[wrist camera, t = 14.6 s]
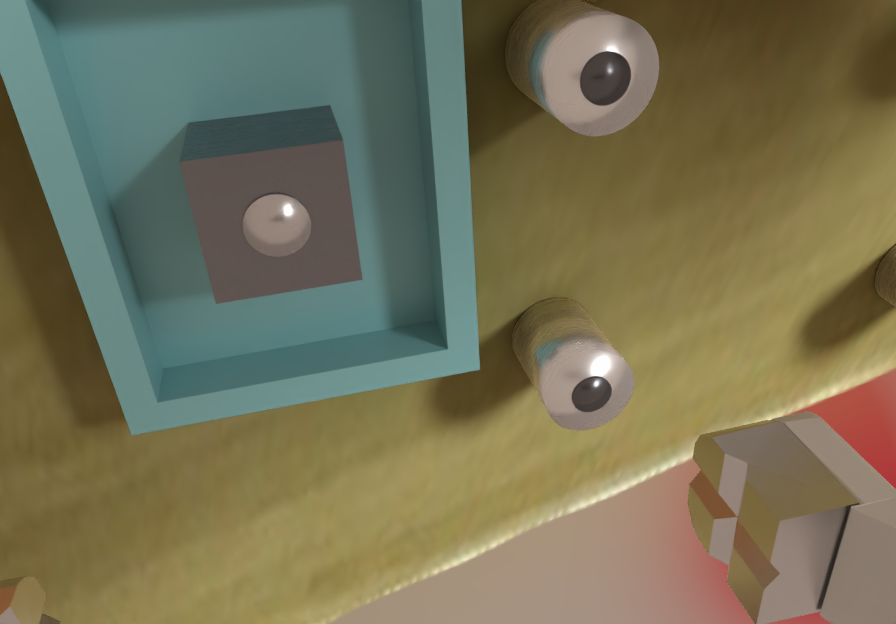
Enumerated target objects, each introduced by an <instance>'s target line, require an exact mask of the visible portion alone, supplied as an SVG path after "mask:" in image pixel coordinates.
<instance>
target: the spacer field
mask: <svg viewBox="0 0 896 624" xmlns="http://www.w3.org/2000/svg"><path fill="white" fill-rule="evenodd" d="M505 63H506V67H507V71H508V74H509V76H510V78H511V80H512V82H513V83H514V84H515V86H516V87H517V88H518V89H519V90H520V91H521V92H522V93H524V94H525V95H526V96H528V97H529V98H530V99H532V100H533V101H534V102H535V103H537V104H538V105H539V106H541V107H542V108H543V109H545V110H546V111H547V112H548V113H550V114H551V115H552V116H554V117H555V118H556V119H558V120H559V121H560V122H561V123H563V124H564V125H565V126H567V127H568V128H569V129H571V130H573V131H574V132H577V133H579V134H582V135H587V136H604V135H608V134H612V133H614V132H617V131H619V130H621V129H623V128H624V127H626V126H628V125H629V124H630V123H632V122H633V121H634V120H635V119H636V118H637V117H638V116H639V115H640V114H641V113H642V112H643V110H644V109H645V108H646V106H647V105H648V103H649V102H650V100H651V98H652V96H653V93H654V91H655V88H656V85H657V81H658V75H659V57H658V52H657V48H656V46H655V43H654V41H653V39H652V37H651V36H650V34H649V33H648V32H647V30H646V29H645V28H644V27H642V26H641V25H640V24H639V23H637V22H636V21H634V20H631V19H629V18H627V17H624V16H621V15H618V14H616V13H613V12H610V11H607V10H605V9H602V8H599V7H596V6H594V5H591V4H588V3H585V2H583V1H580V0H538V1H536V2H534V3H532V4H531V5H529V6H528V7H527V8H526V9H525V10H524V11H523V12H522V13H521V14H520V15H519V16H518V17H517V19H516V20H515V22H514V23H513V25H512V27H511V29H510V32H509V34H508V37H507V41H506V46H505ZM875 289H876V291H877V293H878V294H879V296H880V297H882V298H883V299H884V300H886V301H888V302H889V303H891V304H892V305H894V306H895V307H896V245H895V246H894V247H893V248H891V249H890V251H889V252H888V253H887V254H886V255H885V256H884V258H883V259H882V261H881V263H880V264H879V266H878V269H877V272H876V275H875ZM512 347H513V350H514V353H515V355H516V356H517V358H518V360H519V362H520V363H521V365H522V367H523V369H524V371H525V372H526V374H527V376H528V378H529V379H530V381H531V383H532V385H533V386H534V388H535V390H536V392H537V393H538V395H539V397H540V399H541V400H542V402H543V404H544V406H545V407H546V409H547V411H548V413H549V414H550V416H551V418H552V419H553V420H554V421H555V422H556V423H557V424H558V425H560V426H562V427H564V428H567V429H570V430H588V429H593V428H596V427H599V426H601V425H603V424H605V423H607V422H609V421H610V420H612V419H613V418H614V417H616V416H617V415H618V414H619V413H620V412H621V411H622V410H623V409H624V408H625V406H626V405H627V403H628V402H629V400H630V398H631V396H632V393H633V389H634V375H633V372H632V370H631V368H630V366H629V365H628V364H627V363H626V361H625V360H624V359H623V358H622V356H621V355H620V354H619V352H618V351H617V350H616V349H615V347H614V346H613V345H612V344H611V342H610V341H609V340H608V338H607V337H606V336H605V335H604V333H603V332H602V331H601V330H600V328H599V327H598V326H597V325H596V323H595V322H594V321H593V319H592V318H591V317H590V316H589V314H588V313H587V312H586V311H585V309H584V308H583V307H582V306H581V305H580V304H579V303H577V302H575V301H573V300H571V299H567V298H550V299H546V300H543V301H540V302H538V303H536V304H535V305H533V306H531V307H530V308H529V309H527V310H526V311H525V312H524V313H523V314H522V316H521V317H520V318H519V320H518V321H517V323H516V325H515V327H514V330H513V333H512Z"/></svg>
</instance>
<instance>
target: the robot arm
mask: <svg viewBox="0 0 896 624" xmlns="http://www.w3.org/2000/svg"><path fill="white" fill-rule="evenodd" d="M693 459H694V461H695V462H696V463H697V465H698V466H699V468H700V469H701V470H700V472H699V473H698V474H697V476H696V477H695V478H694V479H693V480H692V481H691V483H690V484H689V495H688V506H689V512H690V516H691V521H692V525H693V527H694V529H695V531H696V534H697V536H698V538H699V540H700V542H701V543H702V545H703V546H704V548H705V549H706V551H707V553H708V554H709V555H711V556H712V557H714V558H717V559H718V560H720V561H722V562H723V563H725V564H727V565H729V570H728V577H727V583H728V585H729V586H730V588H731V589H732V590H733V592H734V593H735V595H736V596H737V598H738V599H739V601H740V602H741V604H742V605H743V607H744V608H745V610H746V611H747V613H748V614H749V616H750V617H751V619H752V620H753V622H754V623H755V624H766V623H770V622H775V621H779V620H784V619H788V618H793V617H798V616H802V615H807V614H811V613H816V612H820V611H821V612H820V616H821V617H823V618H824V619H826V620H827V621H829V622H830V623H832V624H896V489H895V488H894V487H892V485H890V484H889V483H888V482H887V481H886V480H885V479H884V478H883V477H882V476H881V475H880V474H879V473H878V472H877V471H876V470H875V469H874V468H872V467H871V465H869V463H868V462H867V461H865V460H864V459H863V458H862V457H861V456H860V455H859V454H858V453H857V452H856V451H855V450H854V449H853V448H852V447H851V446H850V445H849V444H848V443H847V442H846V441H845V440H843V438H841V437H840V436H839V435H838V434H837V433H836V432H835V431H834V430H833V429H832V428H831V427H830V426H829V425H828V424H827V423H826V422H825V421H824V420H823V419H822V418H821V417H819V416H818V415H816V414H814V413H811V412H809V411H807V412H802V413H797V414H793V415H788V416H784V417H779V418H775V419H772V420H766V421H761V422H757V423H752V424H748V425H743V426H739V427H734V428H729V429H725V430H720V431H716V432H711V433H707V434H702V435H700V437H699V438H698V440H697V441H696V443H695V447H694V454H693ZM46 598H47V596H46V594H45V592H44V591H43V589H42V587H41V586H40V584H39V582H38V581H37V579H36V577H26V576H25V577H19V578H14V579H9V580H3V581H0V624H61V622H60V621H58V620H56V619H54V618H52V617H50V616H47V615H45V614H43V613H42V612H43V608H44V605H45V601H46Z"/></svg>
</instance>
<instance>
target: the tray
mask: <svg viewBox="0 0 896 624" xmlns="http://www.w3.org/2000/svg"><path fill="white" fill-rule="evenodd" d="M0 73H1V75H2V78H3V81H4V84H5V87H6V89H7V92H8V95H9V98H10V100H11V103H12V106H13V109H14V111H15V114H16V117H17V120H18V123H19V125H20V128H21V131H22V134H23V136H24V139H25V142H26V145H27V147H28V150H29V153H30V156H31V159H32V161H33V164H34V167H35V170H36V172H37V175H38V178H39V181H40V183H41V186H42V189H43V192H44V194H45V197H46V200H47V203H48V206H49V208H50V211H51V214H52V217H53V219H54V222H55V225H56V228H57V230H58V233H59V236H60V239H61V242H62V244H63V247H64V250H65V253H66V255H67V258H68V261H69V264H70V266H71V269H72V272H73V275H74V278H75V280H76V283H77V286H78V289H79V291H80V294H81V297H82V300H83V302H84V305H85V308H86V311H87V314H88V316H89V319H90V322H91V325H92V327H93V330H94V333H95V336H96V338H97V341H98V344H99V347H100V349H101V352H102V355H103V358H104V361H105V363H106V366H107V369H108V372H109V374H110V377H111V380H112V383H113V385H114V388H115V391H116V394H117V397H118V399H119V402H120V405H121V408H122V410H123V413H124V416H125V419H126V421H127V424H128V427H129V430H130V433H131V435H137V434H143V433H148V432H153V431H158V430H164V429H169V428H174V427H180V426H185V425H190V424H195V423H201V422H206V421H211V420H216V419H222V418H227V417H232V416H238V415H243V414H248V413H253V412H259V411H264V410H269V409H275V408H280V407H285V406H290V405H296V404H301V403H306V402H312V401H317V400H322V399H327V398H333V397H338V396H343V395H349V394H354V393H359V392H364V391H370V390H375V389H380V388H385V387H391V386H396V385H401V384H407V383H412V382H417V381H422V380H428V379H433V378H438V377H444V376H449V375H454V374H459V373H465V372H470V371H475V370H480V360H479V340H478V320H477V300H476V280H475V261H474V241H473V221H472V201H471V182H470V162H469V142H468V122H467V102H466V83H465V63H464V43H463V23H462V3H461V0H0ZM326 105H330V106H331V109H332V112H333V114H334V117H335V120H336V122H337V125H338V128H339V130H340V133H341V136H342V138H343V142H344V149H345V157H346V164H347V171H348V178H349V185H350V193H351V200H352V207H353V214H354V222H355V229H356V236H357V243H358V250H359V258H360V265H361V272H362V279H363V280H359V281H353V282H347V283H341V284H335V285H329V286H323V287H316V288H310V289H304V290H298V291H292V292H286V293H280V294H274V295H268V296H262V297H256V298H250V299H244V300H238V301H232V302H225V303H219V304H216V303H215V299H214V295H213V291H212V287H211V283H210V280H209V276H208V272H207V268H206V264H205V260H204V256H203V252H202V248H201V245H200V241H199V237H198V233H197V229H196V225H195V221H194V217H193V213H192V210H191V206H190V202H189V198H188V194H187V190H186V186H185V182H184V179H183V175H182V171H181V167H180V163H179V161H180V156H181V152H182V148H183V144H184V139H185V135H186V131H187V127H188V123H190V122H198V121H206V120H214V119H222V118H230V117H238V116H246V115H254V114H262V113H270V112H278V111H286V110H294V109H302V108H310V107H318V106H326Z"/></svg>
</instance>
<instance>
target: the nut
mask: <svg viewBox="0 0 896 624" xmlns="http://www.w3.org/2000/svg"><path fill="white" fill-rule="evenodd" d="M179 163H180V167H181V171H182V175H183V179H184V182H185V186H186V190H187V194H188V198H189V202H190V206H191V210H192V213H193V217H194V221H195V225H196V229H197V233H198V237H199V241H200V245H201V248H202V252H203V256H204V260H205V264H206V268H207V272H208V276H209V280H210V283H211V287H212V291H213V295H214V299H215V303H216V304H219V303H225V302H232V301H238V300H244V299H250V298H256V297H262V296H268V295H274V294H280V293H286V292H292V291H298V290H304V289H310V288H316V287H323V286H329V285H335V284H341V283H347V282H353V281H359V280H363V279H362V272H361V265H360V258H359V250H358V243H357V236H356V229H355V222H354V214H353V207H352V200H351V193H350V185H349V178H348V171H347V164H346V157H345V149H344V142H343V138H342V136H341V133H340V130H339V128H338V125H337V122H336V120H335V117H334V114H333V112H332V109H331V106H330V105H326V106H318V107H310V108H302V109H294V110H286V111H278V112H270V113H262V114H254V115H246V116H238V117H230V118H222V119H214V120H206V121H198V122H190V123H188V127H187V131H186V135H185V139H184V144H183V148H182V152H181V156H180V161H179Z"/></svg>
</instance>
